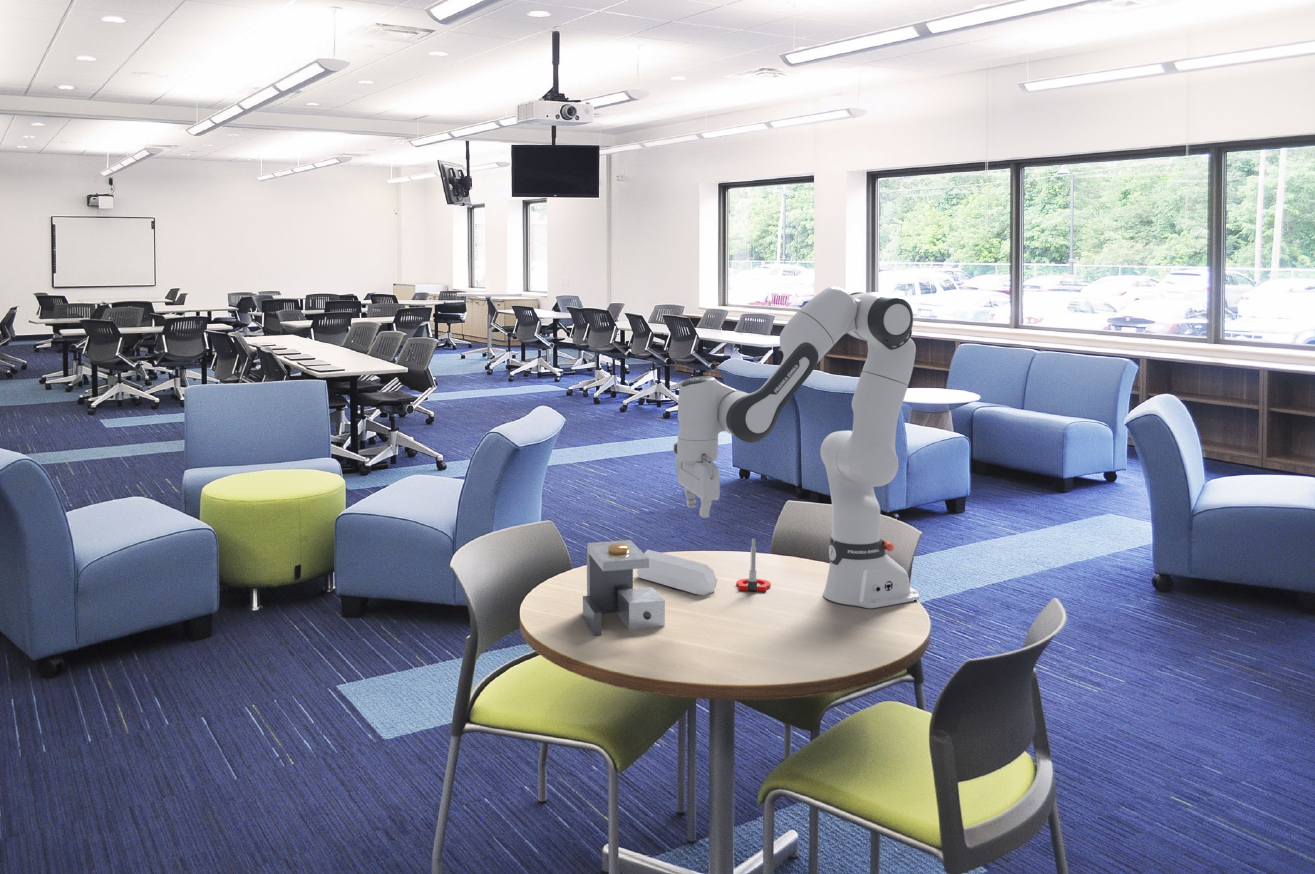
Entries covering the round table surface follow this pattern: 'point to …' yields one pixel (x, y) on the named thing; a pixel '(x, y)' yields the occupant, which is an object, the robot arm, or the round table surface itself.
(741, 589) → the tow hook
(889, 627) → the round table surface
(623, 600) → the brushed aluminum block
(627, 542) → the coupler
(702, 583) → the crystal
